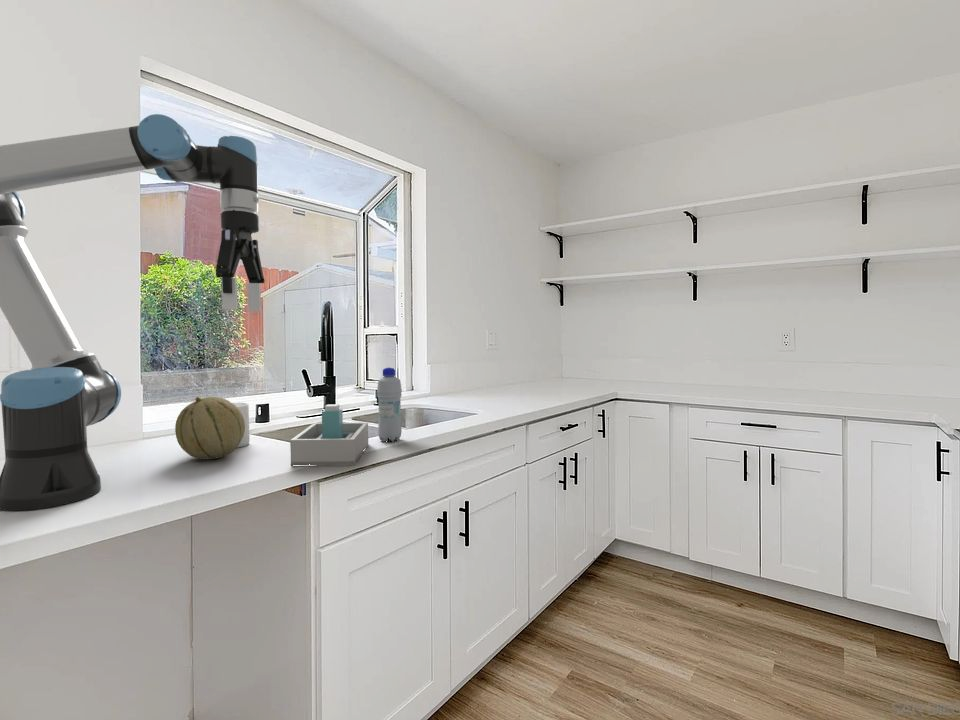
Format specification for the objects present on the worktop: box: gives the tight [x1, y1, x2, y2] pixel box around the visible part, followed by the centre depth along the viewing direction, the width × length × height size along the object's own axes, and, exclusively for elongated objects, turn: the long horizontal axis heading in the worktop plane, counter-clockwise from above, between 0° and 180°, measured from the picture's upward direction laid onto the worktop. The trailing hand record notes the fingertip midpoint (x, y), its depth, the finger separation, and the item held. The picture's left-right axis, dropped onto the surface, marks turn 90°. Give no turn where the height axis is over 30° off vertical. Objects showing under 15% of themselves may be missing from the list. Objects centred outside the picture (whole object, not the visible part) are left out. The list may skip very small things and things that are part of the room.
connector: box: [321, 403, 344, 439], centre depth 127 cm, size 4×4×11 cm
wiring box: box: [289, 422, 369, 467], centre depth 127 cm, size 20×14×6 cm
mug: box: [231, 402, 251, 449], centre depth 136 cm, size 9×12×11 cm
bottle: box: [376, 367, 403, 442], centre depth 143 cm, size 7×7×20 cm
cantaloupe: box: [174, 396, 245, 460], centre depth 124 cm, size 15×15×15 cm
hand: (243, 310), depth 116 cm, fingers open, 13 cm apart
